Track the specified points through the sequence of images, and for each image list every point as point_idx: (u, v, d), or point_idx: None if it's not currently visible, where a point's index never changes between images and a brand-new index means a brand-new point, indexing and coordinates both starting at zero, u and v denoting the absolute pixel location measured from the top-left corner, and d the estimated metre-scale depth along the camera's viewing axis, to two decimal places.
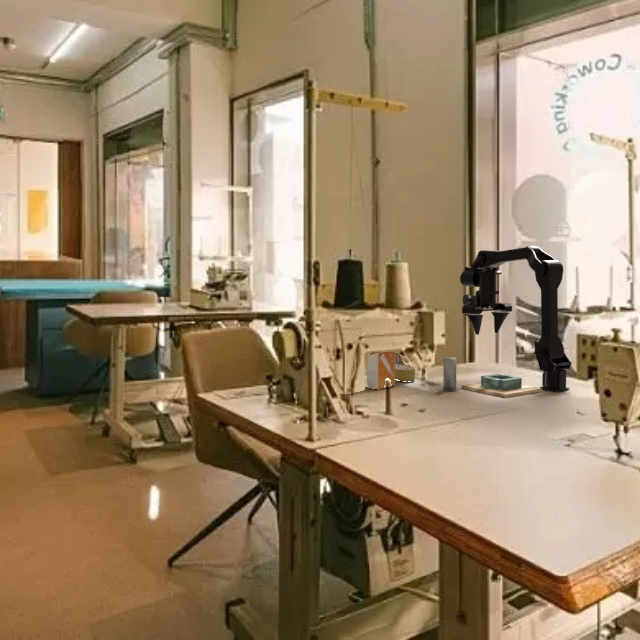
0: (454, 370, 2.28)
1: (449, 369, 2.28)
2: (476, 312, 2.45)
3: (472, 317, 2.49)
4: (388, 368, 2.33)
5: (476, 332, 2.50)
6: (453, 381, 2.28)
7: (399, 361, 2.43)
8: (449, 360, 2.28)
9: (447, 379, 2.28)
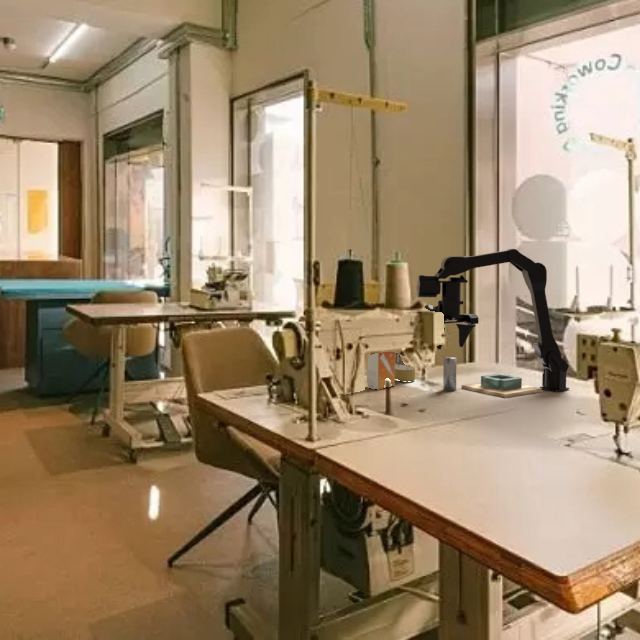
0: (454, 370, 2.28)
1: (449, 369, 2.28)
2: None
3: None
4: (388, 368, 2.33)
5: (438, 346, 2.26)
6: (453, 381, 2.28)
7: (399, 361, 2.43)
8: (449, 360, 2.28)
9: (447, 379, 2.28)
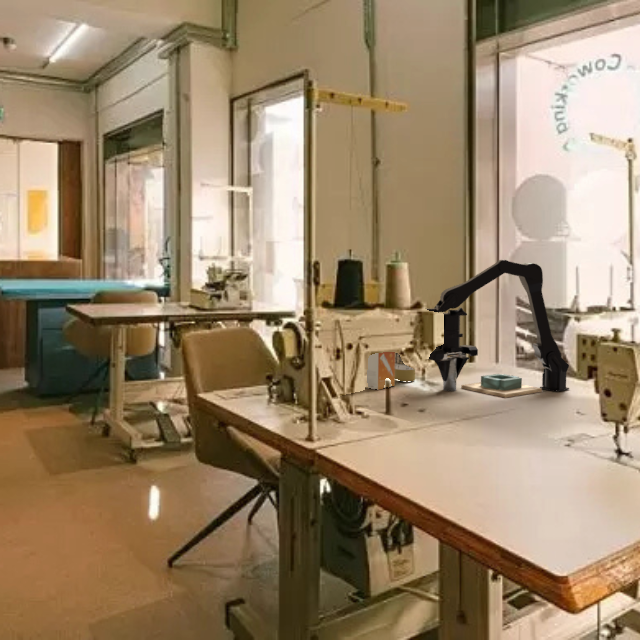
0: (454, 370, 2.28)
1: (449, 369, 2.28)
2: (437, 358, 2.22)
3: (439, 362, 2.28)
4: (388, 368, 2.33)
5: (443, 378, 2.29)
6: (453, 381, 2.28)
7: (399, 361, 2.43)
8: None
9: (447, 379, 2.28)
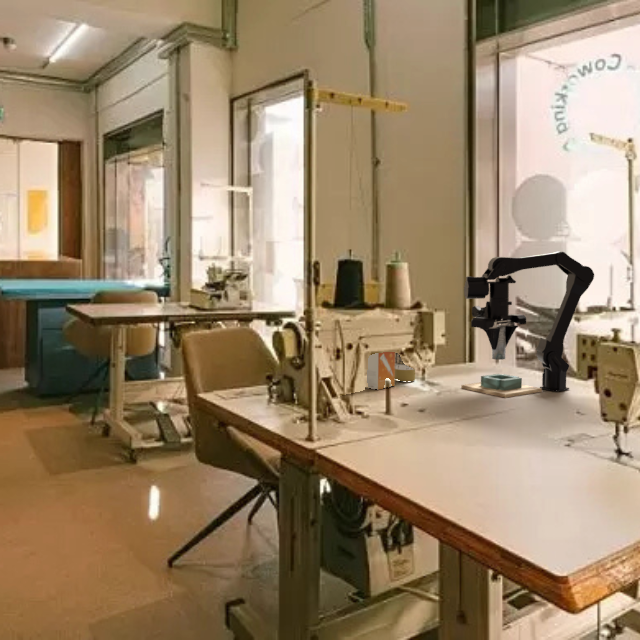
0: (503, 338, 2.27)
1: (499, 337, 2.27)
2: (487, 326, 2.21)
3: (488, 330, 2.27)
4: (388, 368, 2.33)
5: (493, 347, 2.28)
6: (502, 349, 2.27)
7: (399, 361, 2.43)
8: None
9: (496, 347, 2.27)
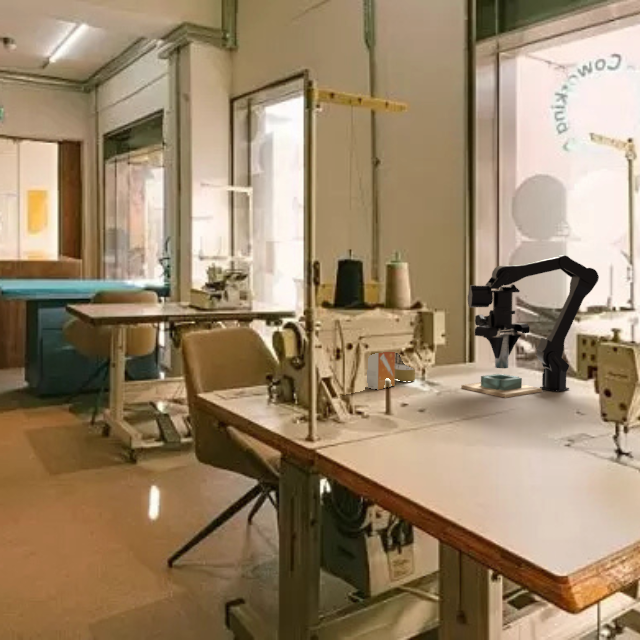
0: (506, 347, 2.27)
1: (502, 346, 2.27)
2: (490, 335, 2.21)
3: (491, 339, 2.27)
4: (388, 368, 2.33)
5: (496, 356, 2.28)
6: (506, 358, 2.28)
7: (399, 361, 2.43)
8: None
9: (499, 356, 2.28)
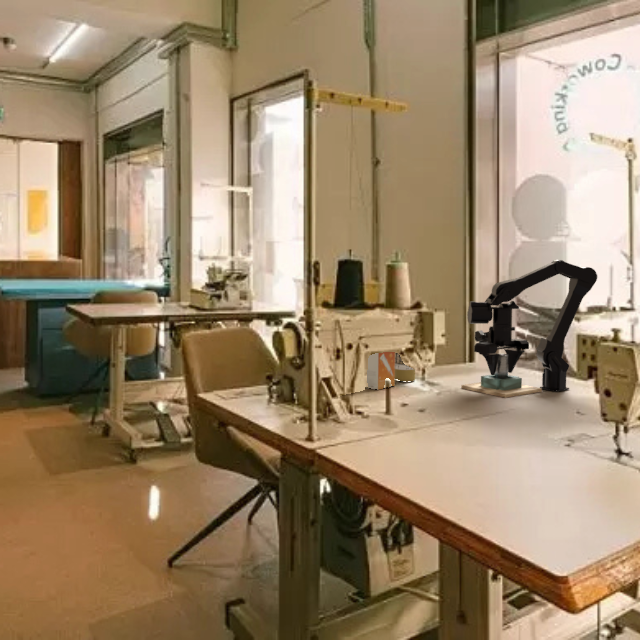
0: (506, 367, 2.28)
1: (501, 365, 2.28)
2: (490, 351, 2.22)
3: (487, 356, 2.27)
4: (388, 368, 2.33)
5: (491, 372, 2.27)
6: (505, 378, 2.28)
7: (399, 361, 2.43)
8: (501, 357, 2.27)
9: (499, 375, 2.28)
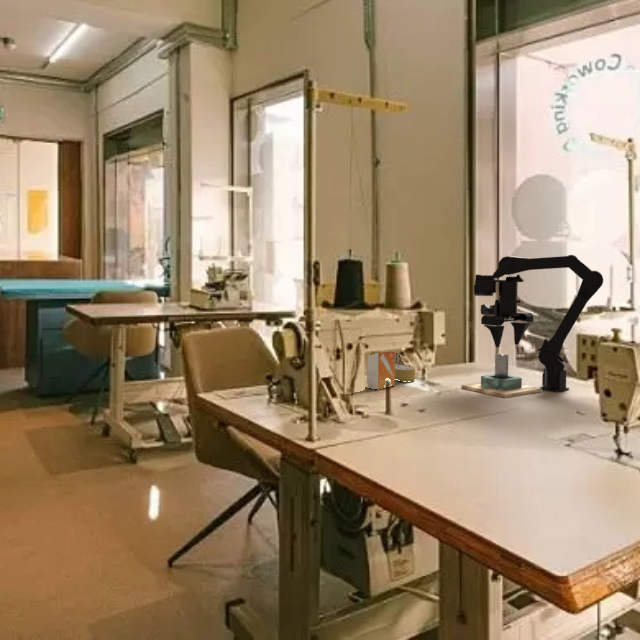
0: (506, 367, 2.28)
1: (501, 365, 2.28)
2: (497, 323, 2.26)
3: (492, 328, 2.31)
4: (388, 368, 2.33)
5: (496, 344, 2.31)
6: (505, 378, 2.28)
7: (399, 361, 2.43)
8: (501, 357, 2.27)
9: (499, 375, 2.28)
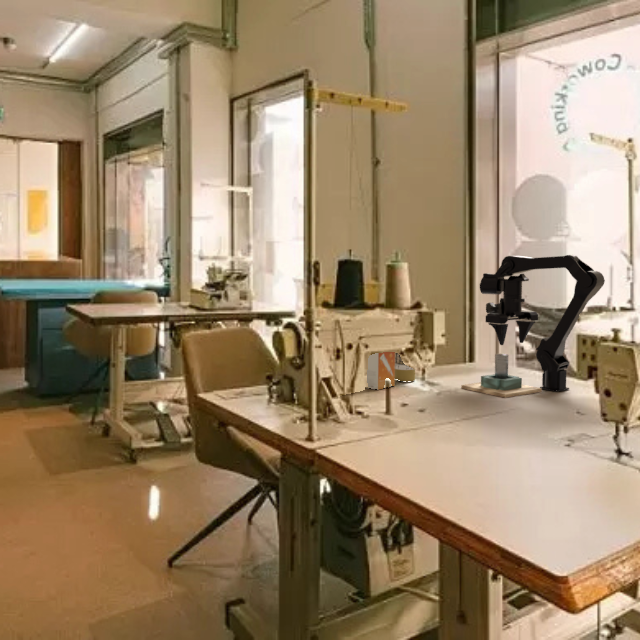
0: (506, 367, 2.28)
1: (501, 365, 2.28)
2: (501, 321, 2.31)
3: (496, 326, 2.35)
4: (388, 368, 2.33)
5: (500, 342, 2.36)
6: (505, 378, 2.28)
7: (399, 361, 2.43)
8: (501, 356, 2.27)
9: (499, 375, 2.28)
